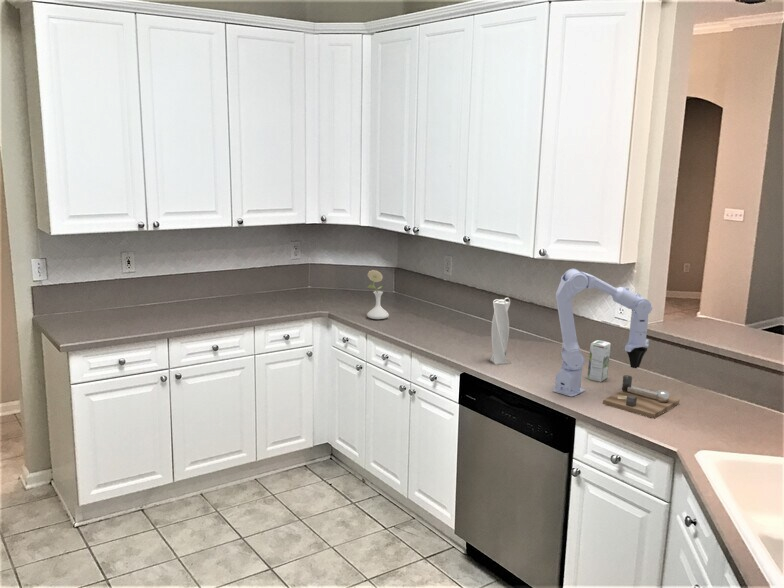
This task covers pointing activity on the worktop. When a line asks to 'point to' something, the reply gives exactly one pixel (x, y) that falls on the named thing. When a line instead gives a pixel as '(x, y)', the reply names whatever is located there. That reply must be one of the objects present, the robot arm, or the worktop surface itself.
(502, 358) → the skyscraper
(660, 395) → the press lever
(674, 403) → the board
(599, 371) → the syrup box
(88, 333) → the worktop surface
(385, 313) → the flower in vase
